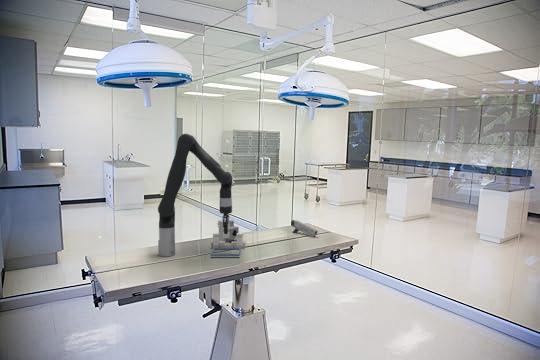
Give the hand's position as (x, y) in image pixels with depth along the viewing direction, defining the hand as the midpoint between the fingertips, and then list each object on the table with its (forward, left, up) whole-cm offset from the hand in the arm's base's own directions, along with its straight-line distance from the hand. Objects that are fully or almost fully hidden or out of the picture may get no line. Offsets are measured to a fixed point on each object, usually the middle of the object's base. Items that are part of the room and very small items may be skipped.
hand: (226, 232), depth 214 cm
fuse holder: (0, +11, -14) cm, 18 cm away
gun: (+53, +50, -14) cm, 74 cm away
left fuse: (-8, +11, -12) cm, 18 cm away
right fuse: (+7, +11, -12) cm, 18 cm away
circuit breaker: (-1, +28, -14) cm, 31 cm away
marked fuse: (0, 0, -3) cm, 3 cm away
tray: (0, 0, -14) cm, 14 cm away
